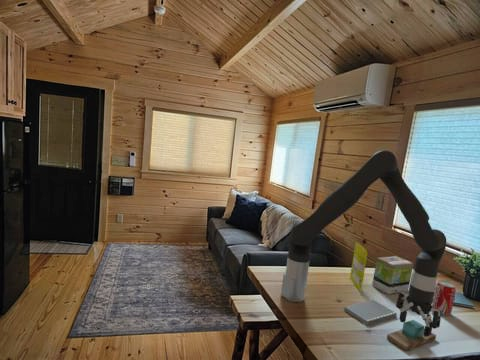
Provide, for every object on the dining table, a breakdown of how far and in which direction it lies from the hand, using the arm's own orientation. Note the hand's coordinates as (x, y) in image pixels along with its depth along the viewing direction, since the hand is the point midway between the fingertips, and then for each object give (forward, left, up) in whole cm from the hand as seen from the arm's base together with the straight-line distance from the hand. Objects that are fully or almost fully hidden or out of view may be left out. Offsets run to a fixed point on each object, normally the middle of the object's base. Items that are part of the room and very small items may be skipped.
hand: (413, 328), depth 107 cm
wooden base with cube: (0, 0, -4) cm, 4 cm away
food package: (+16, +39, -5) cm, 42 cm away
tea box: (+32, +31, -5) cm, 45 cm away
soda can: (+34, +8, -5) cm, 36 cm away
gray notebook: (0, +18, -4) cm, 18 cm away
